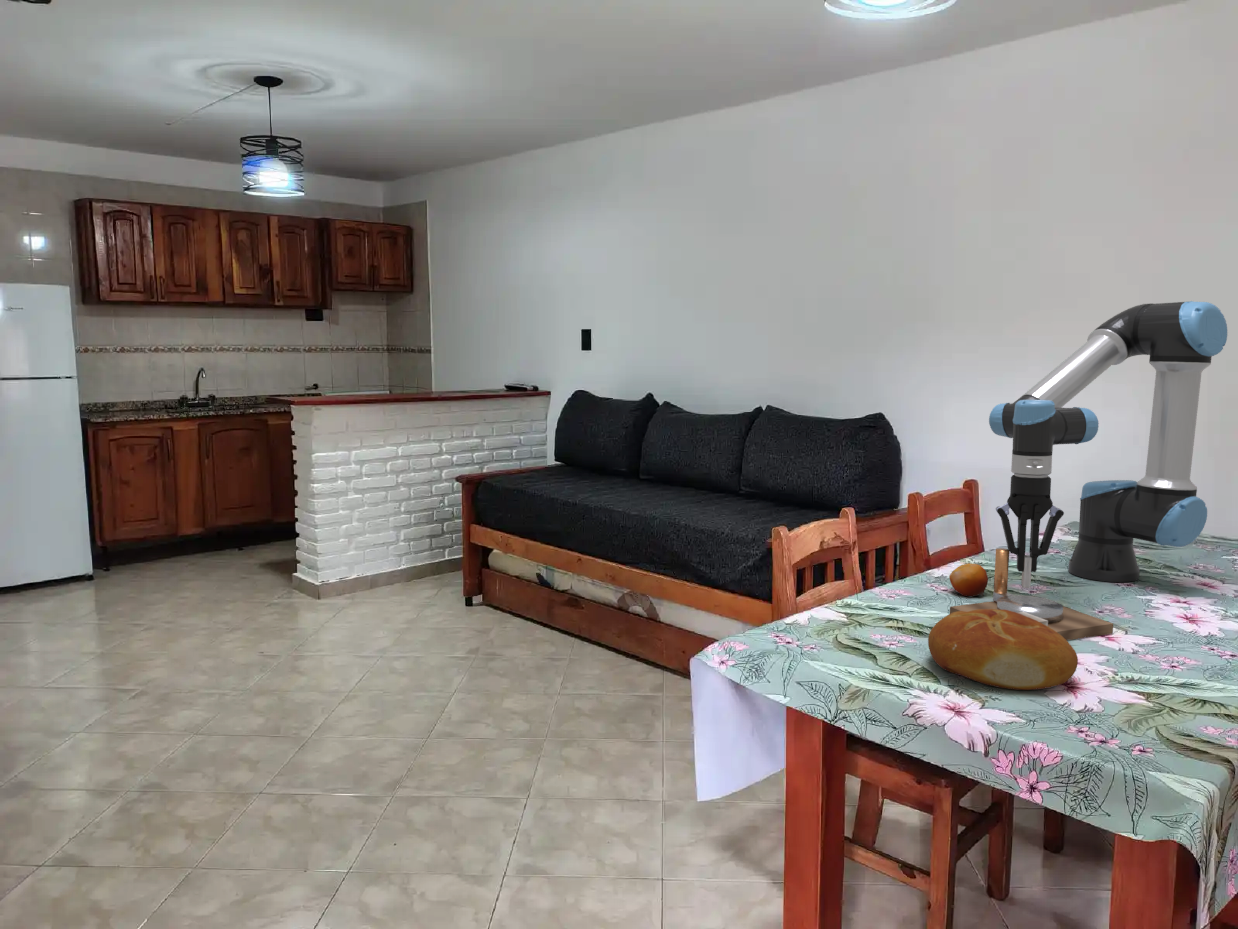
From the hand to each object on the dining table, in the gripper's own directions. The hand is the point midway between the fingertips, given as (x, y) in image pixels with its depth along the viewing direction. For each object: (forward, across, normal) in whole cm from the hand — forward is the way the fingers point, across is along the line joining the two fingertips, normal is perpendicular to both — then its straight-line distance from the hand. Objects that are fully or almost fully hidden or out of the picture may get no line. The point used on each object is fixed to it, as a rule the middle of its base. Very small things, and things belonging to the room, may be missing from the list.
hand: (1025, 586), depth 184 cm
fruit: (+6, -10, +12) cm, 16 cm away
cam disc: (+3, -2, -7) cm, 7 cm away
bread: (+6, -10, -37) cm, 39 cm away
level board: (+6, -1, -8) cm, 10 cm away
